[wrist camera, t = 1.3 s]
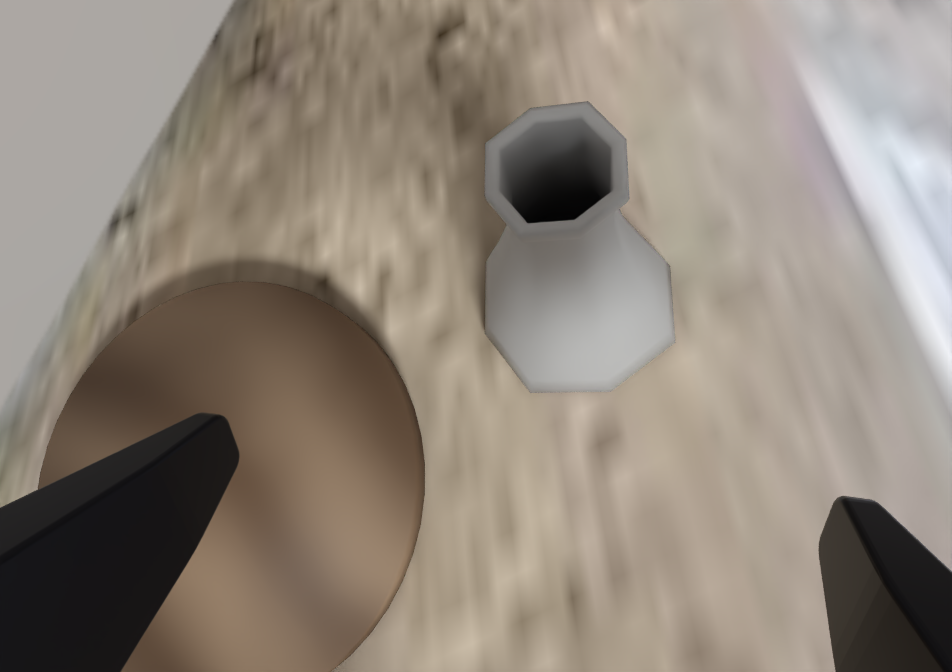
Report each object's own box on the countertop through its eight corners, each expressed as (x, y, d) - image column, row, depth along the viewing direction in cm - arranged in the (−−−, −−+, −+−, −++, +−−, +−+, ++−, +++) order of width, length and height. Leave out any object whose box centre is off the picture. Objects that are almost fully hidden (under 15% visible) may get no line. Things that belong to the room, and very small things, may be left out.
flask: (459, 253, 23) (359, 98, 14) (632, 187, 22) (653, -28, 13) (515, 425, 21) (444, 381, 12) (709, 358, 20) (801, 253, 11)
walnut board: (261, 815, 20) (240, 835, 19) (-5, 540, 25) (-35, 543, 24) (506, 415, 21) (500, 412, 20) (209, 230, 26) (191, 218, 25)
